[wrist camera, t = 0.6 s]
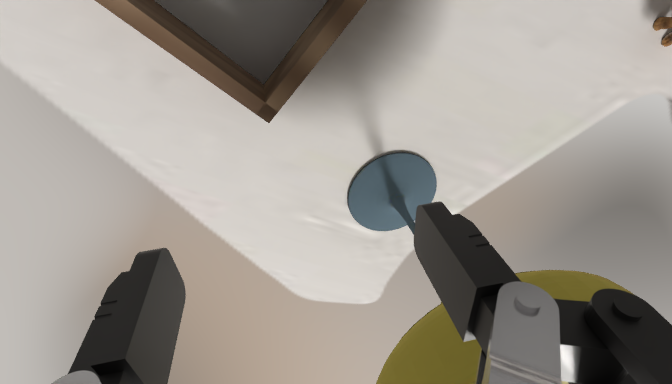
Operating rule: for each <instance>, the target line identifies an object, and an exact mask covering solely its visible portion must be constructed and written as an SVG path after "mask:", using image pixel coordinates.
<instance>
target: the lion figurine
mask: <svg viewBox="0 0 672 384" xmlns="http://www.w3.org/2000/svg"><path fill="white" fill-rule="evenodd" d="M653 28H654V30H656V31H657V30H660V29H668V28H672V17H660V18H658V19H657V20H656V21H655V23H654V25H653ZM661 44H662V45H663V46H669V45H671V44H672V32H671V33H669V34H668V35H666V36H665V37H664V38H663V39H662V43H661Z"/></svg>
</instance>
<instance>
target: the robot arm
mask: <svg viewBox="0 0 672 384" xmlns="http://www.w3.org/2000/svg"><path fill="white" fill-rule="evenodd" d="M414 247H415V251H416V254H417V257H418V259H419V260H420V262H421V264H422V266H423V268H424V270H425V272H426V274H427V276H428V277H429V279H430V281H431V283H432V284H433V287H434V288H435V290H436V292H437V294H438V296H439V298H440V299H441V301H442V303H443V305H444V307H445V309H446V311H447V312H448V314H449V316H450V318H451V320H452V322H453V324H454V325H455V327H456V329H457V331H458V333H459V335H460V337H461V338H462V340H463V342H466V341H470V340H475V339H476V340H477V341H478V343H479V345H480V347H481V351H480V355H479V361H478V367H477V373H476V379H475V384H562V381H565V382H568V383H569V384H672V325H671V324H670V323H669V322H668V321H667V320H666V319H664V318H663V317H662V316H661V315H660V314H659V313H658V312H657V311H656V310H655V309H654V308H653V307H652V306H651V305H649V304H648V303H647V302H646V301H644V300H643V299H641V298H639V297H637V296H635V295H633V294H631V293H629V292H626V291H622V290H618V289H610V288H608V289H601V290H598V291H596V292H595V293H594V294H593V296H592V298H591V300H590V302H587V301H575V300H563V299H554V298H552V296H550V295H549V294H548V293H547V292H546V291H544V290H543V289H541V288H540V287H538V286H535V285H533V284H530V283H526V282H522V281H521V280H520V279H519V278H518V277H517V276H516V274H515V273H514V272H513V271H512V270H511V269H510V267H509V266H508V265H507V264H506V263H505V261H504V260H503V259H502V258H501V256H500V255H499V254H498V253H497V251H496V250H495V249H494V248H493V247H492V245H490V244H489V242H488V241H487V239H486V238H485V237H484V236H482V233H481V232H480V231H479V230H478V228H477V227H476V226H475V225H474V223H472V222H471V221H470V220H468V219H466V218H465V217H463V216H462V215H460V214H455V215H452V214H451V213H450V212H449V210H448V209H447V208H446V206H445V205H444V204H443V203H442V202H434V203H428V204H422V205H418V206H417V209H416V219H415V231H414ZM184 304H185V286H184V282H183V280H182V277H181V275H180V273H179V271H178V269H177V267H176V265H175V263H174V260H173V258H172V256H171V254H170V252H169V250H167V248H161V249H155V250H150V251H144V252H139V253H138V254H137V255H136V257H135V259H134V262H133V264H132V266H131V269H130V271H128V272H122V273H121V274H120V275H119V276H118V277H117V278H116V279H115V280H114V282H112V284H111V285H110V286H109V287H108V288H107V290H106V293H105V295H104V297H103V299H102V301H101V306H100V307H99V308H98V310H97V312H96V314H95V320H93V321H92V323H91V325H90V328H89V330H88V332H87V334H86V336H85V338H84V341H83V343H82V345H81V347H80V349H79V351H78V353H77V356H76V358H75V360H74V362H73V364H72V366H71V369H70V371H69V373H68V374H67V375H65V376H63V377H61V378H59V379H58V380H57V381H55V382H53V383H52V384H167V383H168V378H169V373H170V369H171V364H172V359H173V355H174V350H175V345H176V340H177V336H178V331H179V327H180V322H181V318H182V313H183V308H184Z"/></svg>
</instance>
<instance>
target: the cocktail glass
mask: <svg viewBox="0 0 672 384" xmlns="http://www.w3.org/2000/svg"><path fill="white" fill-rule="evenodd" d="M435 192H436V176H435V173H434V171H433V168H432V167H431V166H430V164H429V163H428V162H426V161H425V160H424V159H423V158H421V157H419V156H417V155H414V154H410V153H394V154H389V155H385V156H382V157H380V158H378V159H376V160H374V161H373V162H371V163H369V164H368V165H367V166H366V167H365V168H363V169H362V170H361V171H360V173H359V174H358V175H357V176H356V178H355V179H354V181H353V183H352V185H351V187H350V191H349V194H348V205H349V209H350V212H351V214H352V216H353V218H354V219H355V220H356V221H357V222H358V223H359V224H361V225H362V226H364V227H366V228H368V229H371V230H376V231H390V230H395V229H399V228H401V227H404V226H406V225H408V226H409V228H410V230H411V231H412V233H413V234H414V231H415V223H414V221H415V219H416V209H417V206H418V205H422V204H428V203H431V202H432V200H433V198H434V195H435ZM515 274H516V276H517V277H518V278H519V279H520V280H521V281H522V282H526V283H530V284H533V285H535V286H538V287H540V288H541V289H543V290H544V291H546V292H547V293H548V294H549V295H550V296H552V298H554V299H563V300H575V301H587V302H590V300H591V298H592V296H593V294H594V293H595V292H596V291H598V290H601V289H608V288H610V289H618V290H622V291H626V292H629V293H631V292H630V291H628V290H626V289H625V288H623V287H621V286H620V285H617V284H616V283H614V282H612V281H610V280H608V279H606V278H603V277H601V276H598V275H594V274H589V273H585V272H579V271H564V270H542V271H530V272H520V273H515ZM631 294H633V293H631ZM633 295H634V294H633ZM480 351H481V347H480V345H479V343H478V341H477V340H476V339H475V340H470V341H466V342H463V340H462V338H461V337H460V335H459V333H458V331H457V329H456V327H455V325H454V324H453V322H452V320H451V318H450V316H449V314H448V312H447V311H446V309H445V307H444V305H443V303H442V301H441V304H440V305H438V306H437V307H436V308H434V309H433V310H431V311H430V312H428V313H427V314H426V315H425V316H424V317H423V318H422V319H420V320H419V321H418V322H417V323H415V324H414V325H413V326H412V327H411V328H410V329H409V331H408V332H407V333H406V334H405V335H404V336H403V337H402V339H401V340H400V341H399V343H398V344H397V346H396V347H395V348H394V350H393V351H392V353H391V354H390V355H389V357H388V359H387V361H386V362H385V364H384V366H383V369H382V371H381V373H380V375H379V377H378V380H377V383H376V384H475V379H476V373H477V367H478V361H479V355H480ZM562 384H569V383H568V382H565V381H562Z"/></svg>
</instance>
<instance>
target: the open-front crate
mask: <svg viewBox="0 0 672 384" xmlns="http://www.w3.org/2000/svg"><path fill="white" fill-rule="evenodd" d="M95 1H96V2H98V3H99V4H101V5H102V6H104V7H105V8H106V9H108V10H109V11H111V12H112V13H113V14H115V15H116V16H118V17H119V18H121V19H122V20H123V21H125V22H126V23H128V24H129V25H130V26H132V27H133V28H135V29H136V30H138V31H139V32H140V33H142V34H143V35H145V36H146V37H147V38H149V39H150V40H152V41H153V42H155V43H156V44H157V45H159V46H160V47H162V48H163V49H164V50H166V51H167V52H169V53H170V54H172V55H173V56H174V57H176V58H177V59H179V60H180V61H181V62H183V63H184V64H186V65H187V66H189V67H190V68H191V69H193V70H194V71H196V72H197V73H198V74H200V75H201V76H203V77H204V78H206V79H207V80H208V81H210V82H211V83H213V84H214V85H215V86H217V87H218V88H220V89H221V90H223V91H224V92H225V93H227V94H228V95H230V96H231V97H232V98H234V99H235V100H237V101H238V102H240V103H241V104H242V105H244V106H245V107H247V108H248V109H249V110H251V111H252V112H254V113H255V114H257V115H258V116H259V117H261V118H262V119H264V120H265V121H266V122H268V123H270V121H271V120H272V119H273V118H274V116H275V115H276V114H277V113H278V111H279V110H280V109H281V108H282V106H283V105H284V104H285V103H286V101H287V100H288V99H289V98H290V96H291V95H292V94H293V93H294V91H295V90H296V89H297V88H298V86H299V85H300V84H301V83H302V81H303V80H304V79H305V78H306V76H307V75H308V74H309V73H310V71H311V70H312V69H313V68H314V66H315V65H316V64H317V63H318V61H319V60H320V59H321V58H322V56H323V55H324V54H325V53H326V51H327V50H328V49H329V48H330V46H331V45H332V44H333V43H334V41H335V40H336V39H337V38H338V36H339V35H340V34H341V33H342V31H343V30H344V29H345V28H346V26H347V25H348V24H349V23H350V21H351V20H352V19H353V18H354V16H355V15H356V14H357V13H358V11H359V10H360V9H361V8H362V6H363V5H364V4H365V3H366V1H367V0H328V1H327V2H326V4H325V5H324V6H323V8H322V9H321V10H320V12H319V13H318V14H317V15H316V17H315V18H314V19H313V21H312V22H311V23H310V25H309V26H308V27H307V29H306V30H305V31H304V33H303V34H302V35H301V37H300V38H299V39H298V40H297V42H296V43H295V44H294V46H293V47H292V48H291V50H290V51H289V52H288V54H287V55H286V56H285V58H284V59H283V60H282V61H281V63H280V64H279V65H278V67H277V68H276V69H275V71H274V72H273V73H272V75H271V76H270V77H269V79H268V80H267V81H266V83H265V84H264V85H263V84H262V83H261V82H260V81H258V80H257V79H256V78H254V77H253V76H252V75H250V74H249V73H248V72H246V71H245V70H244V69H243V68H241V67H240V66H239V65H237V64H236V63H235V62H233V61H232V60H231V59H230V58H228V57H227V56H226V55H224V54H223V53H222V52H220V51H219V50H218V49H216V48H215V47H214V46H213V45H211V44H210V43H209V42H207V41H206V40H205V39H203V38H202V37H201V36H199V35H198V34H197V33H196V32H194V31H193V30H192V29H190V28H189V27H188V26H186V25H185V24H184V23H183V22H181V21H180V20H179V19H177V18H176V17H175V16H173V15H172V14H171V13H169V12H168V11H167V10H166V9H164V8H163V7H162V6H160V5H159V4H158V3H156V2H155V1H154V0H95Z"/></svg>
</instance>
